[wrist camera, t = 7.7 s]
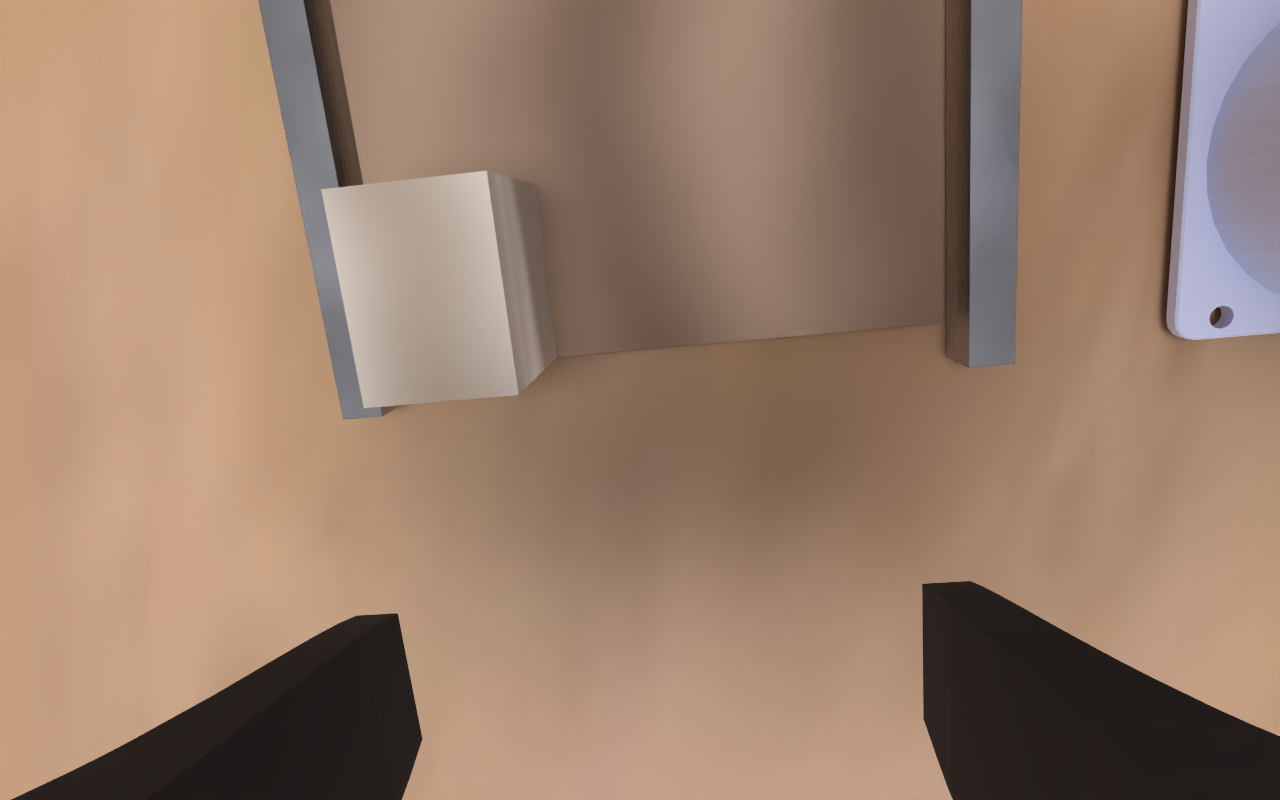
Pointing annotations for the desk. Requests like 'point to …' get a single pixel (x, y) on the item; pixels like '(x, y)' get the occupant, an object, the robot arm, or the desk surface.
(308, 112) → the guide rails
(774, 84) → the shallow tray
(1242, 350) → the desk surface
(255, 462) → the desk surface
